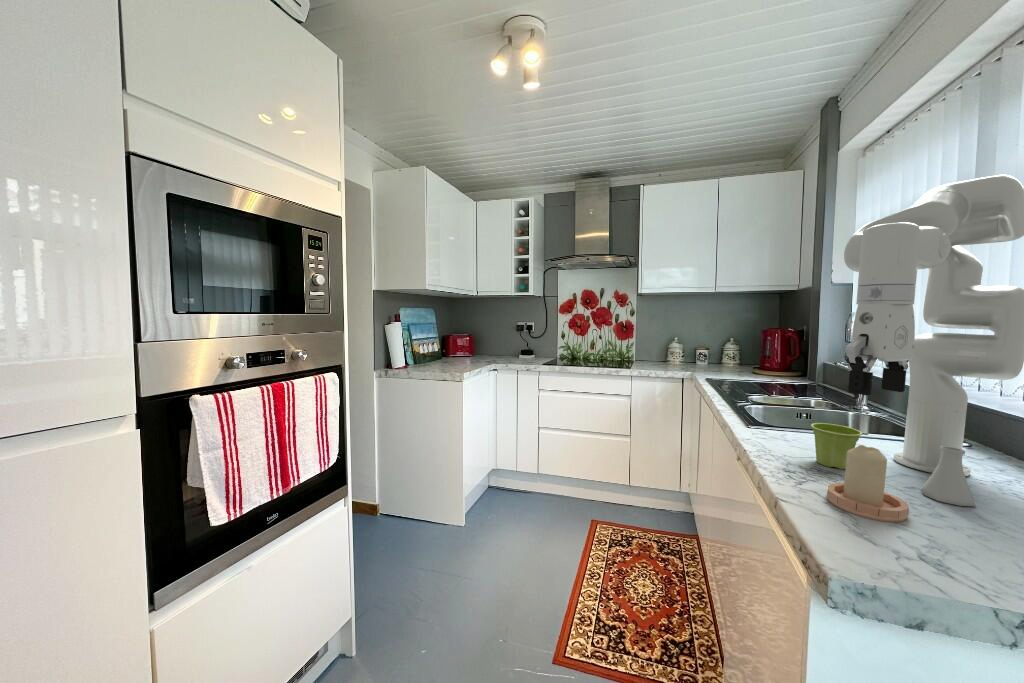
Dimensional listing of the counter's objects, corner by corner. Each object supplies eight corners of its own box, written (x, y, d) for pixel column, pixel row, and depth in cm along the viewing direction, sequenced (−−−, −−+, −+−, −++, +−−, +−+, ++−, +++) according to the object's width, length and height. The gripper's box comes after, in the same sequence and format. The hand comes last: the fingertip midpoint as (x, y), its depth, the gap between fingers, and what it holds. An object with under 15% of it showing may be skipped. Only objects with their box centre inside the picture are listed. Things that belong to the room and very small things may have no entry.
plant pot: (869, 470, 92) (872, 433, 91) (839, 474, 89) (842, 435, 89) (827, 456, 101) (829, 422, 100) (798, 459, 98) (801, 424, 98)
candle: (854, 505, 72) (859, 450, 72) (836, 492, 78) (841, 441, 77) (890, 509, 71) (896, 453, 70) (869, 495, 77) (874, 444, 76)
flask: (958, 494, 80) (963, 445, 80) (986, 510, 74) (992, 457, 73) (912, 488, 83) (916, 440, 82) (935, 503, 76) (941, 451, 75)
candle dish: (849, 490, 81) (850, 480, 81) (921, 516, 71) (922, 505, 71) (813, 497, 77) (814, 487, 77) (883, 526, 67) (884, 514, 67)
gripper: (880, 294, 65) (871, 399, 66) (940, 297, 71) (931, 393, 72) (829, 295, 72) (822, 391, 73) (888, 298, 78) (880, 385, 79)
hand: (876, 392), depth 73 cm, fingers open, 9 cm apart
